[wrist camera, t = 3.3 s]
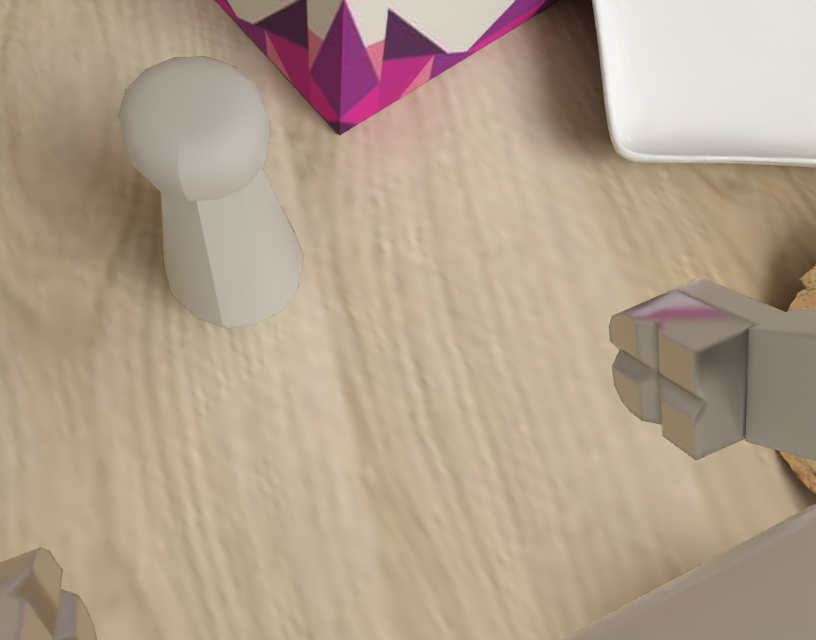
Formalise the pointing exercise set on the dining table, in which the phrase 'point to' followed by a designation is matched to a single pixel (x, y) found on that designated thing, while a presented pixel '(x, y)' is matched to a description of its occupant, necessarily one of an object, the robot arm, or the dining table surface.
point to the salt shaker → (212, 189)
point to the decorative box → (371, 45)
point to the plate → (709, 80)
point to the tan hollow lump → (804, 469)
